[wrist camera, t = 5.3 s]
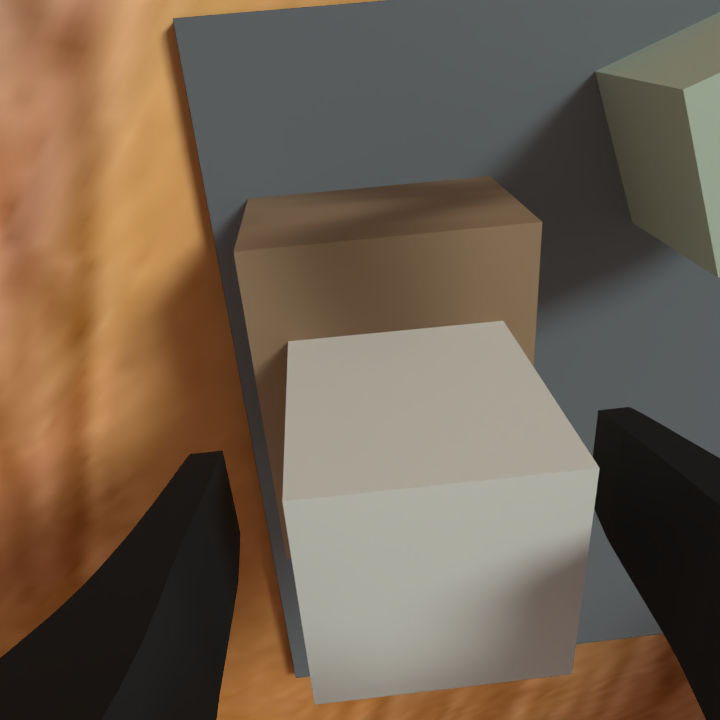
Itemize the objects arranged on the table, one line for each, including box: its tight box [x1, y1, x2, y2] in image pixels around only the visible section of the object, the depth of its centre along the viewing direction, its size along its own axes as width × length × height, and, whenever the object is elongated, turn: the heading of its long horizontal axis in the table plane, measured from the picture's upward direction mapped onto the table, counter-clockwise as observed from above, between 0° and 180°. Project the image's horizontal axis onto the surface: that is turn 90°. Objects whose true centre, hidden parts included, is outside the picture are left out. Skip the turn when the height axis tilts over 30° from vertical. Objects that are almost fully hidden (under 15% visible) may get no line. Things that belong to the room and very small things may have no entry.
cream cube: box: [282, 321, 600, 704], centre depth 12 cm, size 4×4×5 cm
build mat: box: [173, 0, 720, 678], centre depth 20 cm, size 15×22×1 cm
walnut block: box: [234, 176, 542, 558], centre depth 16 cm, size 6×8×4 cm
